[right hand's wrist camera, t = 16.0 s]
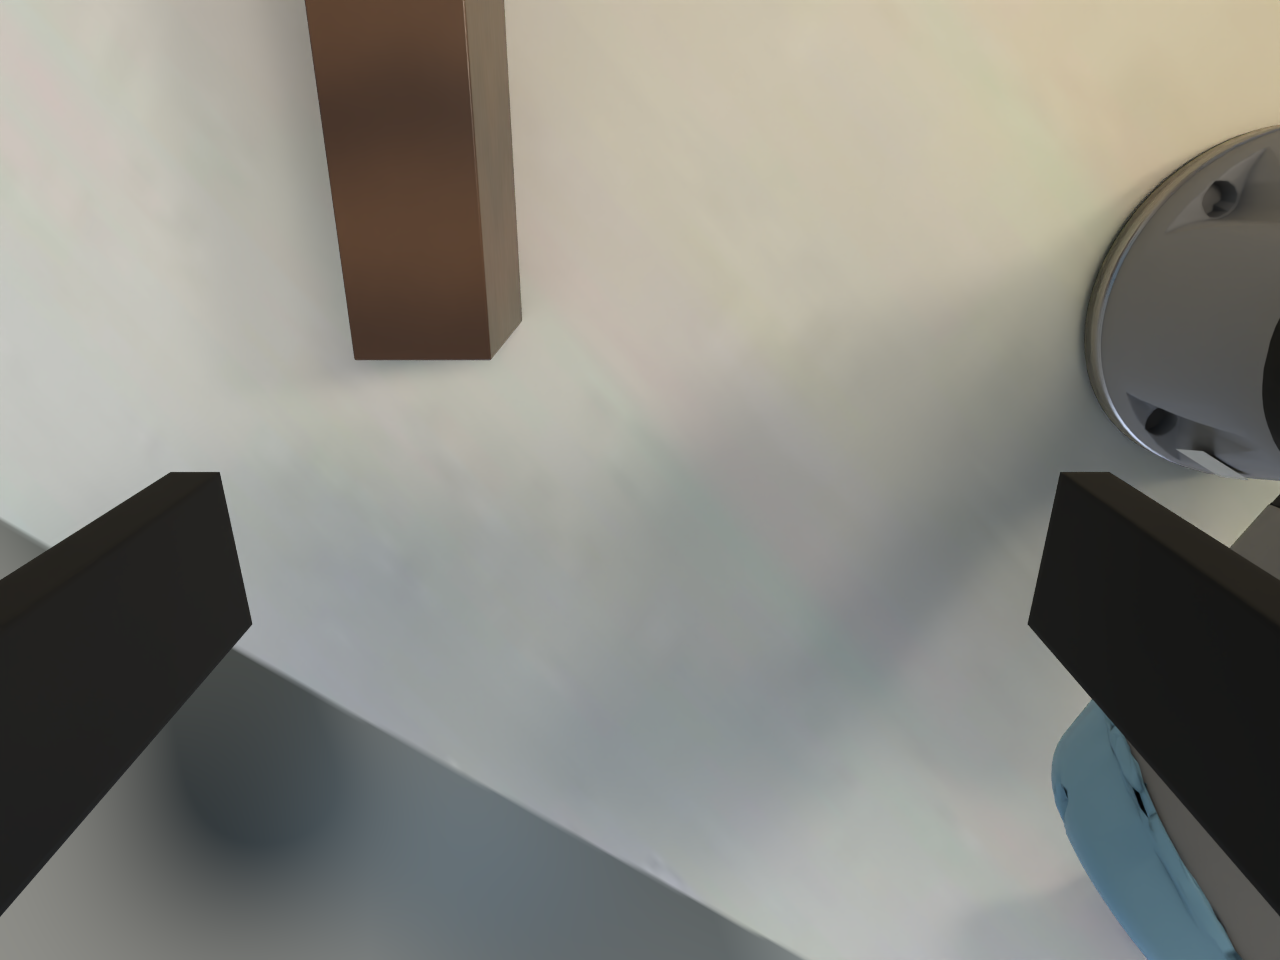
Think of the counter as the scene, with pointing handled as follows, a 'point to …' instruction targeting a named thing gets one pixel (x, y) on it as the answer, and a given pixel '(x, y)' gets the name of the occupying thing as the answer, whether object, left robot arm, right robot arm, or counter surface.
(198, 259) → the counter surface
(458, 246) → the walnut beam
